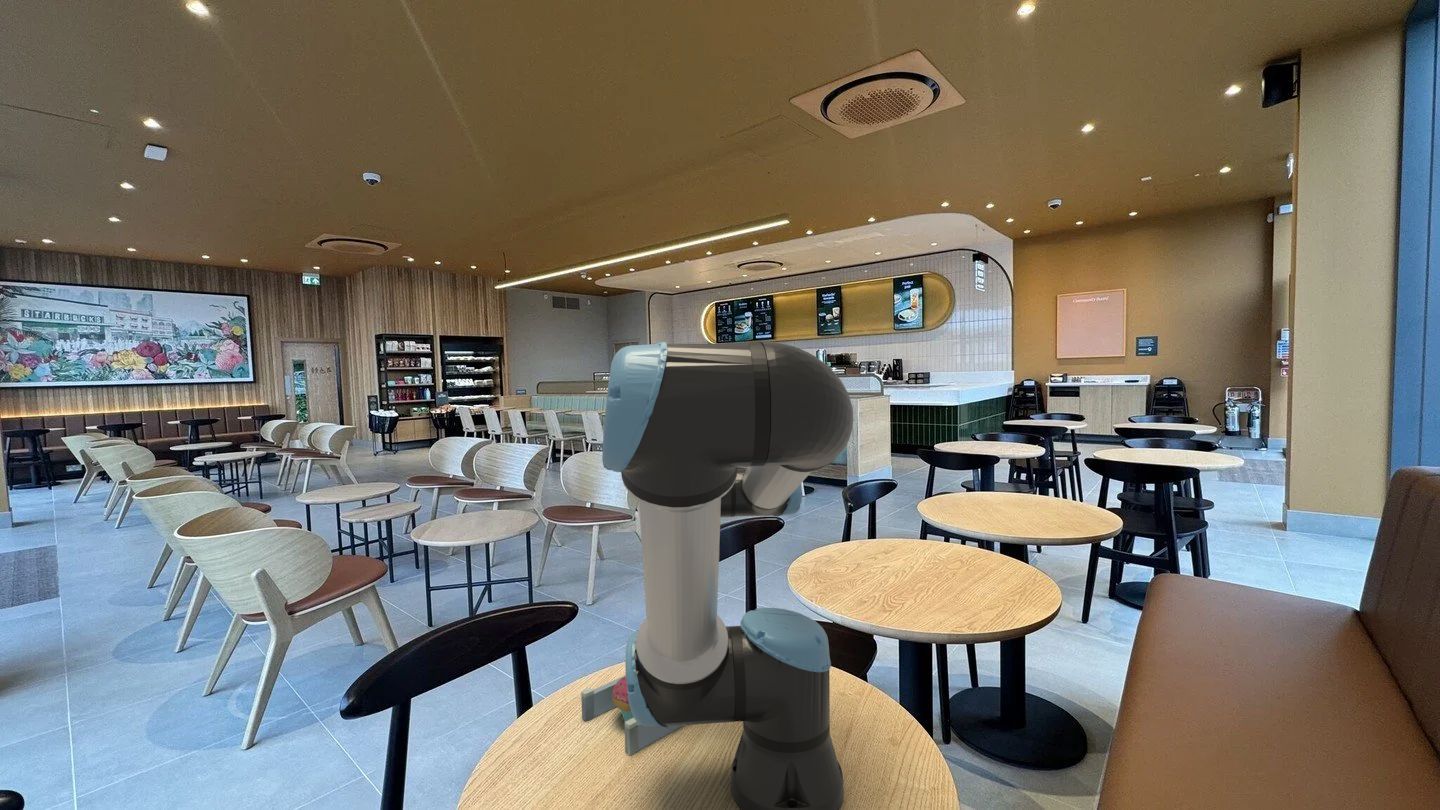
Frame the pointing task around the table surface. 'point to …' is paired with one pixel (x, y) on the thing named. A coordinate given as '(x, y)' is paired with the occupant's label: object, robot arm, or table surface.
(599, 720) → the table surface
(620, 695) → the cupcake
